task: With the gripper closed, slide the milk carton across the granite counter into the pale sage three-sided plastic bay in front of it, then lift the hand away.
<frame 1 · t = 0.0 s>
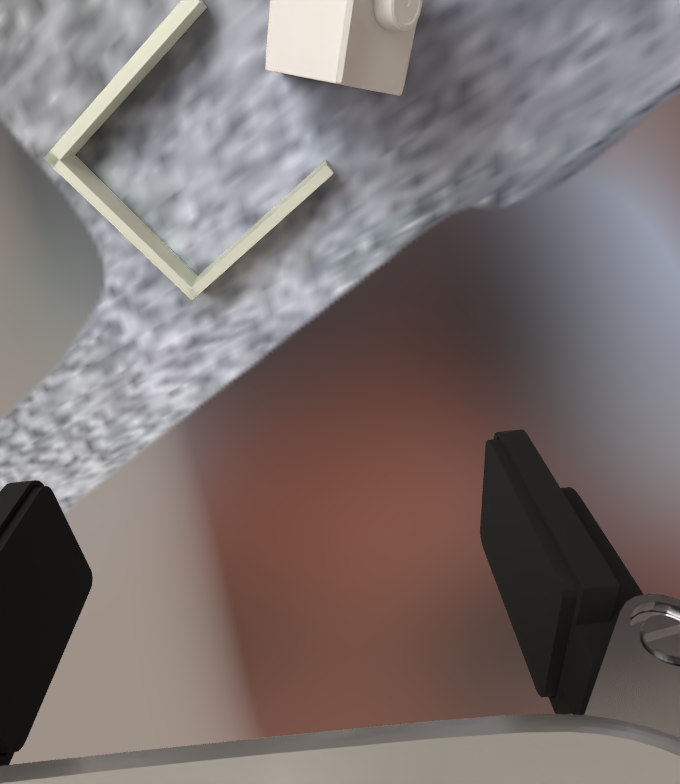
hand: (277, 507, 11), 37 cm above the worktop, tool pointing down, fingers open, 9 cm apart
milk carton: (333, 25, 38), on the worktop
bay: (198, 160, 42), on the worktop
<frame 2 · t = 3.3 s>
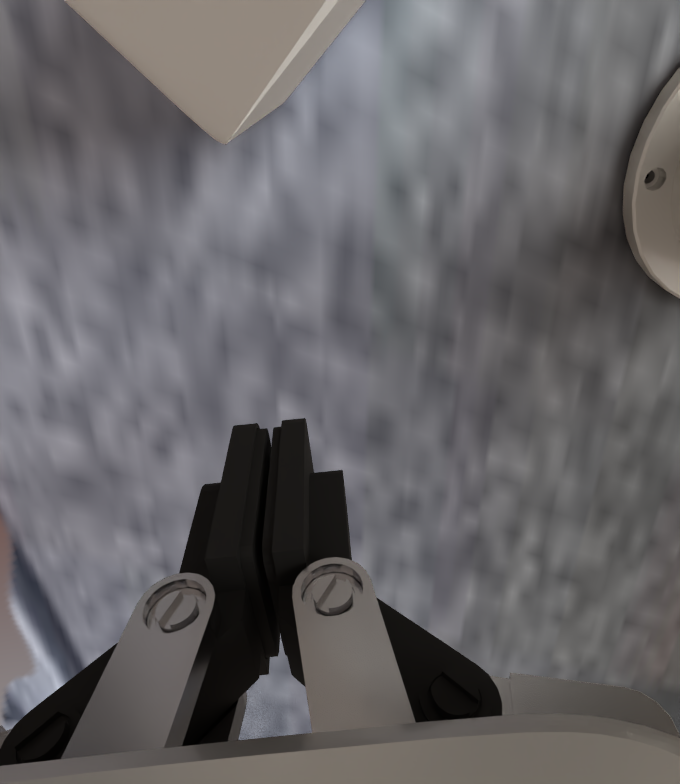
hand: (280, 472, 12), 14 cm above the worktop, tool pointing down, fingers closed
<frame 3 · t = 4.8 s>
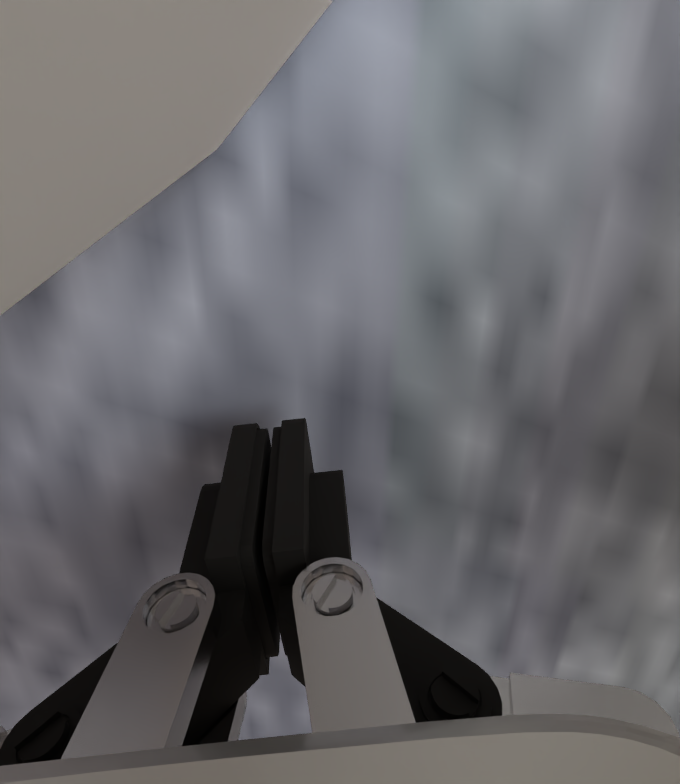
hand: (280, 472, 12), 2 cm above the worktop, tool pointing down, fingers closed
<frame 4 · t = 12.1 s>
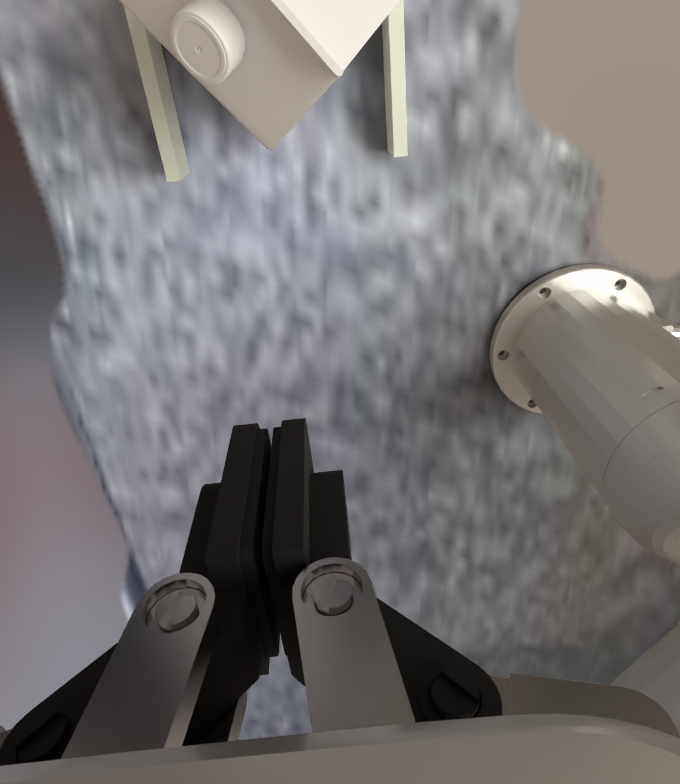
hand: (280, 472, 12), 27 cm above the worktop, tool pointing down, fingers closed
milk carton: (279, 26, 30), on the worktop
bay: (269, 14, 30), on the worktop
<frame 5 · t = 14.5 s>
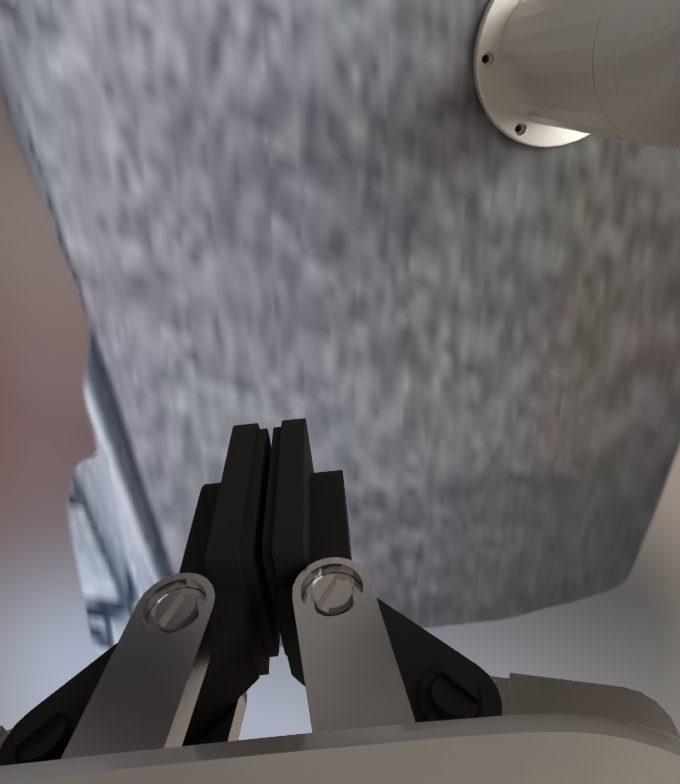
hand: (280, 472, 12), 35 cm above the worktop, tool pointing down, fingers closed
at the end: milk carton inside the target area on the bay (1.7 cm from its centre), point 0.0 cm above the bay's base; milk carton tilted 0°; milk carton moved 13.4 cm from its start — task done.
